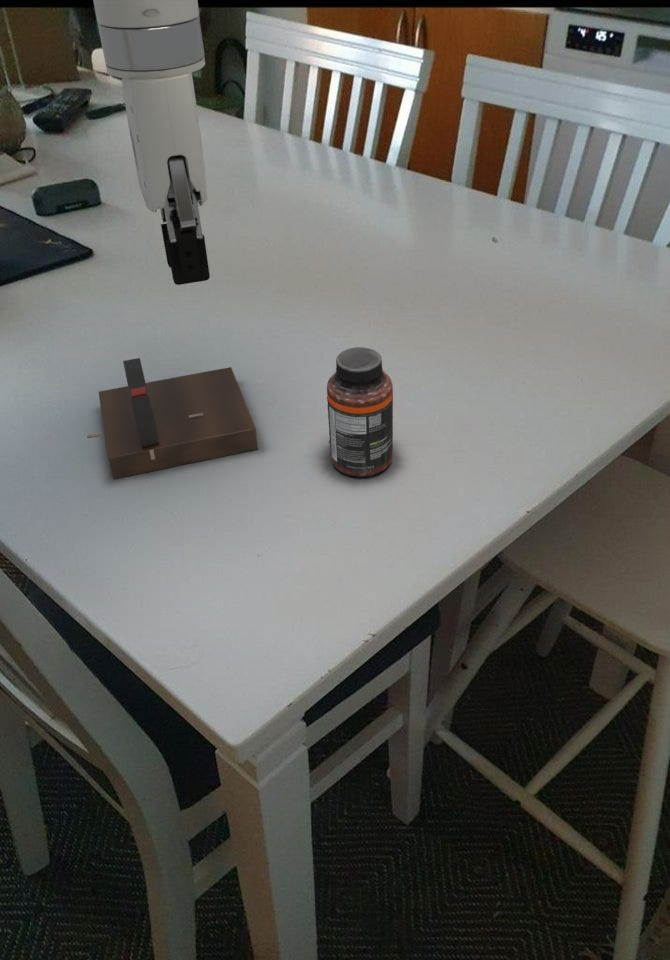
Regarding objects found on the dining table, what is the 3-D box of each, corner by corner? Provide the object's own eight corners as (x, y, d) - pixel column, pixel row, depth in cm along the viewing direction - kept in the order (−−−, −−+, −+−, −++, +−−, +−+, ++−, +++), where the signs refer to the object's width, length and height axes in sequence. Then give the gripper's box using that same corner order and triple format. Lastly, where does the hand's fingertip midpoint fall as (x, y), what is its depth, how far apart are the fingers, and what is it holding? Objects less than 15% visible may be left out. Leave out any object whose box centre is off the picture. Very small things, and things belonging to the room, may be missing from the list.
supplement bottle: (352, 434, 81) (350, 333, 73) (404, 453, 78) (406, 351, 71) (318, 466, 77) (311, 363, 70) (371, 487, 74) (370, 383, 67)
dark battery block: (133, 408, 81) (122, 358, 77) (149, 405, 81) (139, 355, 78) (142, 447, 76) (130, 396, 72) (159, 444, 76) (148, 393, 72)
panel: (97, 493, 75) (91, 471, 73) (88, 414, 85) (82, 392, 83) (261, 458, 78) (259, 436, 76) (233, 386, 88) (231, 365, 86)
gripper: (95, 31, 67) (137, 244, 78) (111, 76, 55) (158, 320, 66) (186, 23, 68) (213, 233, 80) (221, 64, 56) (248, 306, 68)
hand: (188, 271), depth 73 cm, fingers closed on chess pawn, 2 cm apart
